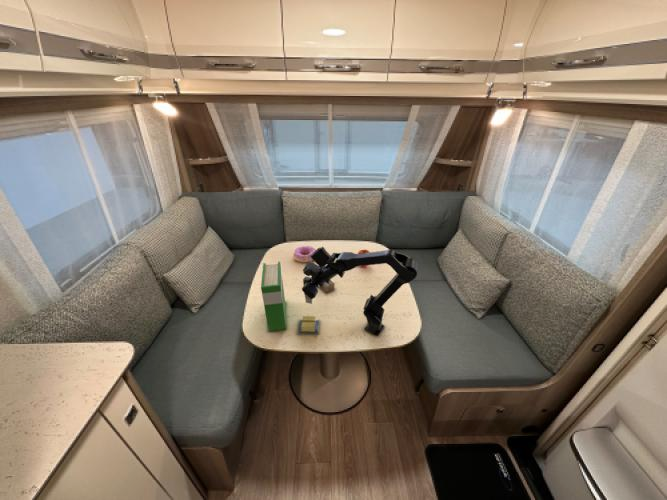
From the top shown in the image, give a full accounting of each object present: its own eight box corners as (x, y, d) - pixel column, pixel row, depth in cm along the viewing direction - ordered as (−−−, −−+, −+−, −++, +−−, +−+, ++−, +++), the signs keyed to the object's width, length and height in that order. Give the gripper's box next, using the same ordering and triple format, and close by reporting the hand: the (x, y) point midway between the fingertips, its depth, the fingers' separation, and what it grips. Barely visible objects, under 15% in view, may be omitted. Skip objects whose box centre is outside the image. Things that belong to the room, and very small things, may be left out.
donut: (292, 253, 172) (291, 246, 169) (313, 250, 176) (313, 243, 173) (296, 265, 160) (295, 258, 158) (319, 261, 164) (319, 254, 161)
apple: (361, 260, 164) (362, 245, 159) (373, 265, 160) (374, 250, 154) (353, 266, 159) (354, 251, 153) (365, 272, 154) (366, 256, 148)
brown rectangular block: (334, 289, 140) (334, 283, 138) (326, 292, 138) (326, 286, 136) (326, 282, 145) (326, 276, 143) (319, 286, 143) (318, 280, 141)
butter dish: (319, 321, 120) (318, 315, 119) (317, 333, 114) (317, 327, 112) (300, 321, 121) (300, 315, 119) (298, 333, 114) (297, 327, 113)
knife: (313, 302, 124) (311, 277, 116) (311, 305, 122) (309, 280, 114) (306, 300, 124) (304, 276, 117) (304, 303, 122) (302, 279, 115)
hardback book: (270, 304, 131) (263, 263, 119) (285, 302, 132) (280, 261, 120) (268, 331, 116) (260, 287, 104) (285, 329, 117) (280, 285, 105)
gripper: (322, 248, 117) (301, 264, 126) (304, 271, 102) (282, 288, 111) (339, 266, 119) (317, 281, 127) (324, 291, 103) (300, 306, 112)
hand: (305, 288), depth 119 cm, fingers closed on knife, 2 cm apart
